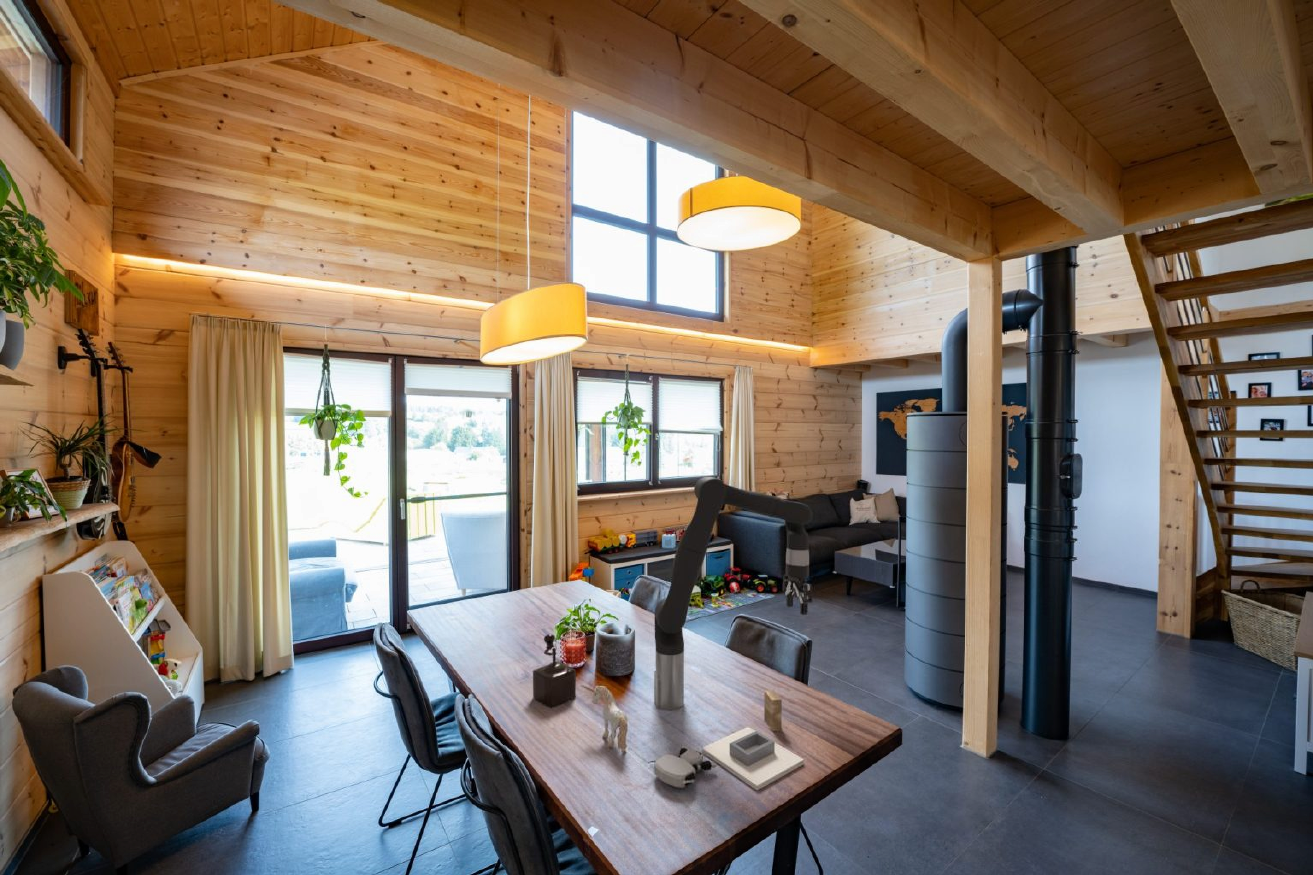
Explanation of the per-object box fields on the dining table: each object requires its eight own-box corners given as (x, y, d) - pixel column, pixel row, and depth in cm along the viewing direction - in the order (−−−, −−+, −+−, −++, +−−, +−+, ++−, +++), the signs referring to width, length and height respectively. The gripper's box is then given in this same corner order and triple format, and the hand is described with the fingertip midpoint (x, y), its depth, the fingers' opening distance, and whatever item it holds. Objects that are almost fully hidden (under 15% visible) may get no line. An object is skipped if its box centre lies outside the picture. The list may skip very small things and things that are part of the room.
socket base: (757, 790, 131) (757, 773, 131) (702, 752, 147) (702, 736, 147) (803, 763, 142) (803, 748, 142) (748, 730, 158) (748, 716, 158)
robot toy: (683, 756, 147) (644, 777, 136) (683, 739, 147) (645, 759, 136) (719, 776, 138) (681, 800, 128) (720, 758, 139) (682, 780, 128)
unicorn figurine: (599, 721, 163) (599, 677, 163) (642, 749, 149) (642, 700, 149) (580, 730, 158) (580, 684, 158) (622, 759, 144) (622, 709, 144)
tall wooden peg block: (771, 730, 158) (772, 700, 158) (764, 720, 164) (764, 690, 164) (781, 729, 159) (781, 699, 159) (773, 719, 165) (773, 689, 165)
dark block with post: (578, 697, 178) (578, 642, 178) (550, 709, 170) (550, 652, 170) (550, 682, 189) (551, 631, 189) (523, 693, 181) (523, 639, 181)
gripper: (776, 558, 187) (775, 604, 187) (799, 567, 173) (798, 618, 173) (795, 556, 189) (794, 603, 189) (819, 566, 175) (818, 616, 175)
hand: (796, 610), depth 181 cm, fingers open, 8 cm apart
